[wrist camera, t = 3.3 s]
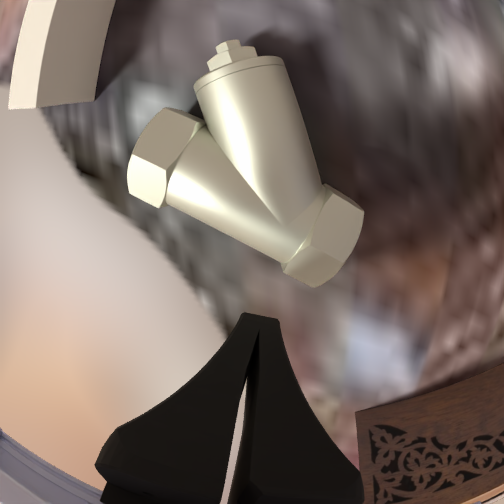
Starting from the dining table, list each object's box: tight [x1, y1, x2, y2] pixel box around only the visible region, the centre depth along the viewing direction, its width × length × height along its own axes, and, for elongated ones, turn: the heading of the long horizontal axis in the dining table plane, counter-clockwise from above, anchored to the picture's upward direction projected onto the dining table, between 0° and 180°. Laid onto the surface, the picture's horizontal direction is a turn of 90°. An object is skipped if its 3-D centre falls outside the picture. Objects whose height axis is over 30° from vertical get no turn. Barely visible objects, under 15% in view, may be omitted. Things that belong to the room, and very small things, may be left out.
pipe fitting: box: [127, 40, 364, 288], centre depth 10 cm, size 8×4×7 cm
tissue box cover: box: [355, 363, 504, 504], centre depth 14 cm, size 26×14×10 cm, turn 110°
